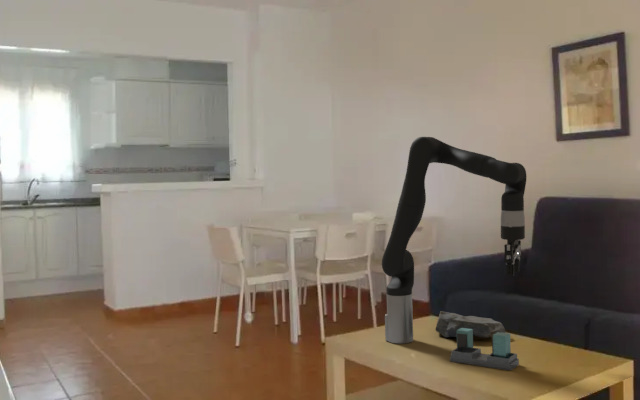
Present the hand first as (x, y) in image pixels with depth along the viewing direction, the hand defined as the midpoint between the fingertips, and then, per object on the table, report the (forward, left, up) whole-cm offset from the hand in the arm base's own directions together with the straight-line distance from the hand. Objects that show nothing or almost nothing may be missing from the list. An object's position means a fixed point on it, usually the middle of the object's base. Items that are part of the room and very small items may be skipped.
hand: (513, 274), depth 219 cm
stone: (-24, +20, -28) cm, 42 cm away
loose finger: (-16, -4, -27) cm, 32 cm away
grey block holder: (-6, -12, -27) cm, 30 cm away
